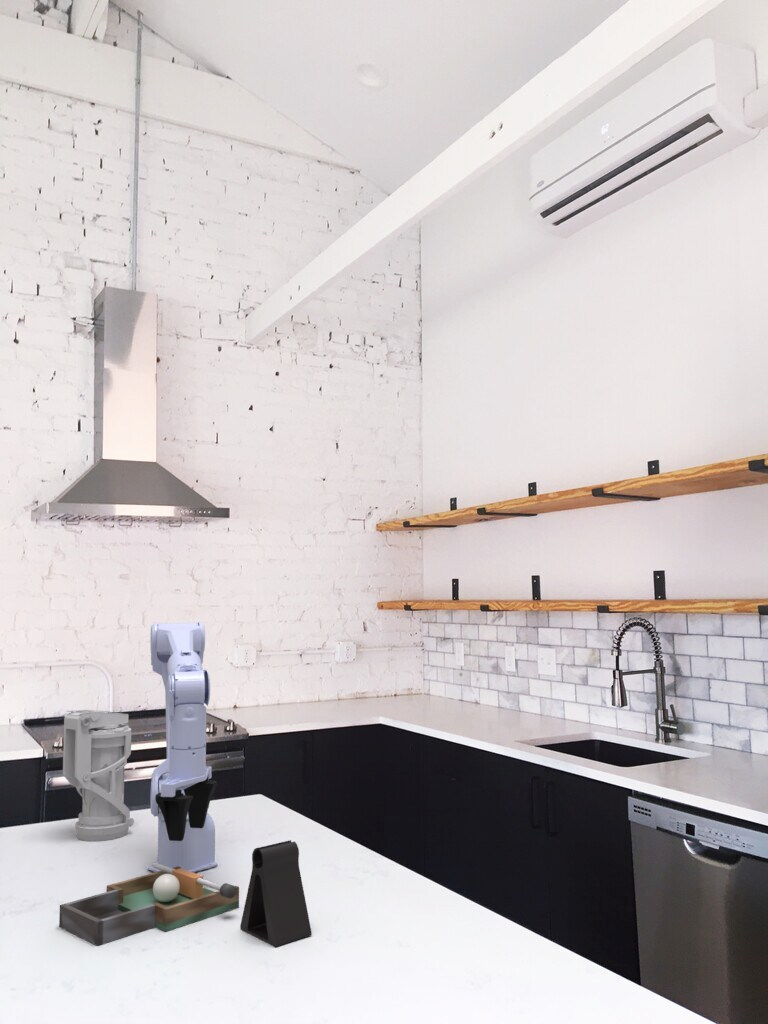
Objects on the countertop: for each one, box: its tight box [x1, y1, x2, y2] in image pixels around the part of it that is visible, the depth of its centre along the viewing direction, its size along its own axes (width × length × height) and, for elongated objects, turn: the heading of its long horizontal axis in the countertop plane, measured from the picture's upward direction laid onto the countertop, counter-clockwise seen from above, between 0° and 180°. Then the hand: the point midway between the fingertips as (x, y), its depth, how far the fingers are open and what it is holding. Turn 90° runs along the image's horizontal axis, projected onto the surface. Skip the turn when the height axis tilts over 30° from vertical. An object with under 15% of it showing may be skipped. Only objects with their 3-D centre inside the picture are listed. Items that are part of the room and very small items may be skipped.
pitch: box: [58, 866, 240, 946], centre depth 131 cm, size 22×16×3 cm
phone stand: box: [240, 839, 313, 948], centre depth 124 cm, size 9×6×12 cm, turn 41°
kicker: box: [152, 862, 236, 899], centre depth 136 cm, size 2×20×3 cm, turn 47°
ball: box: [153, 874, 180, 902], centre depth 133 cm, size 4×4×4 cm
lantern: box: [62, 709, 135, 842], centre depth 176 cm, size 13×10×25 cm
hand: (186, 833), depth 140 cm, fingers open, 7 cm apart
